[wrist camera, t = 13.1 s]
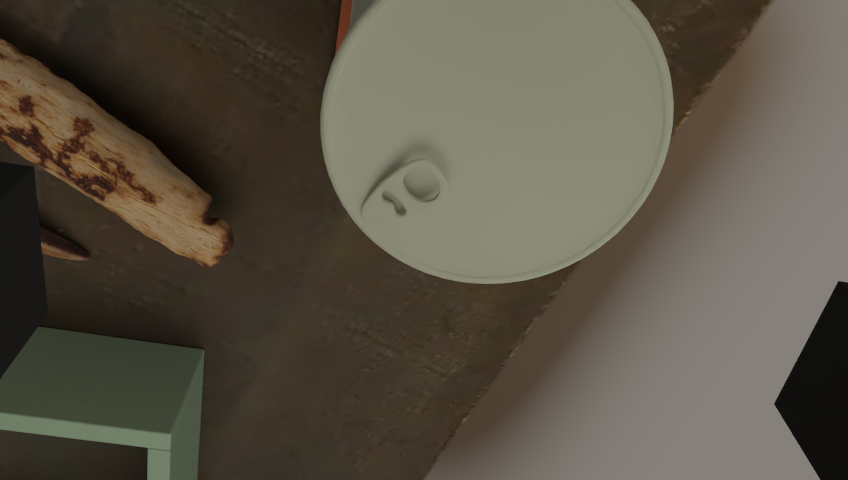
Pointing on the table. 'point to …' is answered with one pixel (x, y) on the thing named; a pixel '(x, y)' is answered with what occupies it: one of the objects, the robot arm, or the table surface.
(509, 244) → the can
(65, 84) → the lashed bone hook
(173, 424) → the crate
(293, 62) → the table surface
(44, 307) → the robot arm
